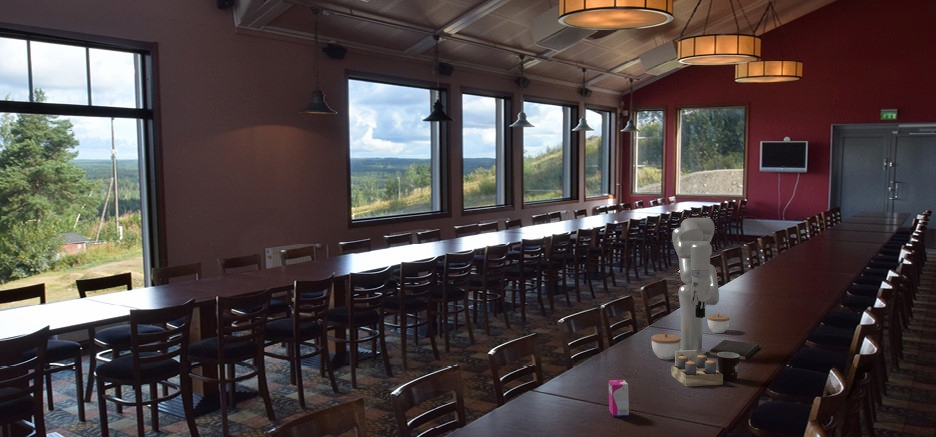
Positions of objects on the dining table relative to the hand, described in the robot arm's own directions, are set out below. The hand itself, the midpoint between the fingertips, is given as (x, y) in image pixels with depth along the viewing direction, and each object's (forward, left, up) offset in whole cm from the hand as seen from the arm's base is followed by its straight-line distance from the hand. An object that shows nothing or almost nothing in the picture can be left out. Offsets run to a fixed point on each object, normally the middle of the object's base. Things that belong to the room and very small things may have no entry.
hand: (700, 317), depth 287 cm
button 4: (+14, -2, -20) cm, 24 cm away
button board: (+10, -6, -23) cm, 26 cm away
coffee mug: (+11, +8, -23) cm, 27 cm away
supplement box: (+42, -48, -23) cm, 68 cm away
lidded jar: (-63, +37, -23) cm, 77 cm away
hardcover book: (-27, +28, -24) cm, 46 cm away
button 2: (+14, -10, -20) cm, 26 cm away
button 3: (+6, -2, -20) cm, 21 cm away
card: (0, -6, -23) cm, 24 cm away
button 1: (+6, -10, -20) cm, 23 cm away
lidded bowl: (-23, -6, -23) cm, 33 cm away
